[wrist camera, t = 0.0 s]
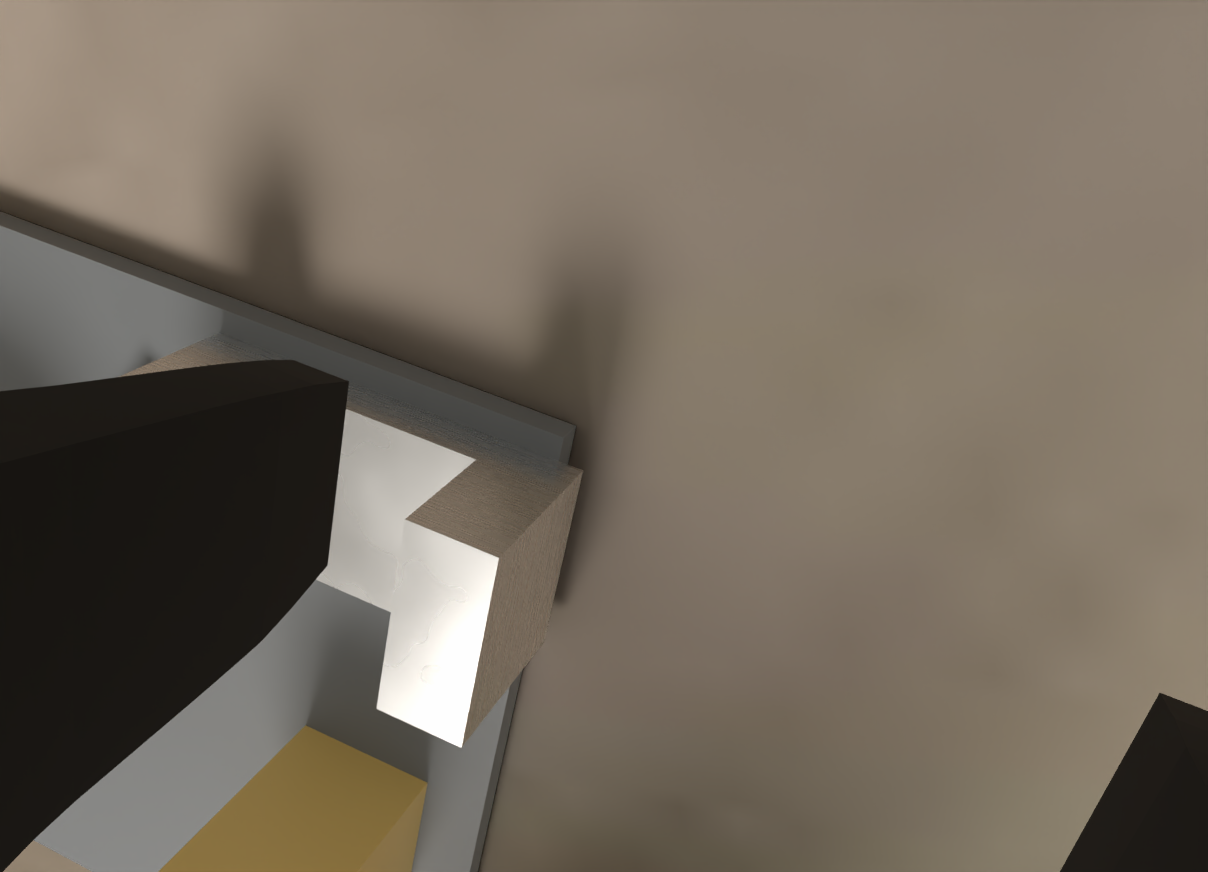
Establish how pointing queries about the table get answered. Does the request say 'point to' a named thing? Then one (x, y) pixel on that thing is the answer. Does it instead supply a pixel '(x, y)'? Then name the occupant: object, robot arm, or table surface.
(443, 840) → the board
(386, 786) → the yellow block with knob
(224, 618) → the robot arm
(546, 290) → the table surface
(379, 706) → the block
